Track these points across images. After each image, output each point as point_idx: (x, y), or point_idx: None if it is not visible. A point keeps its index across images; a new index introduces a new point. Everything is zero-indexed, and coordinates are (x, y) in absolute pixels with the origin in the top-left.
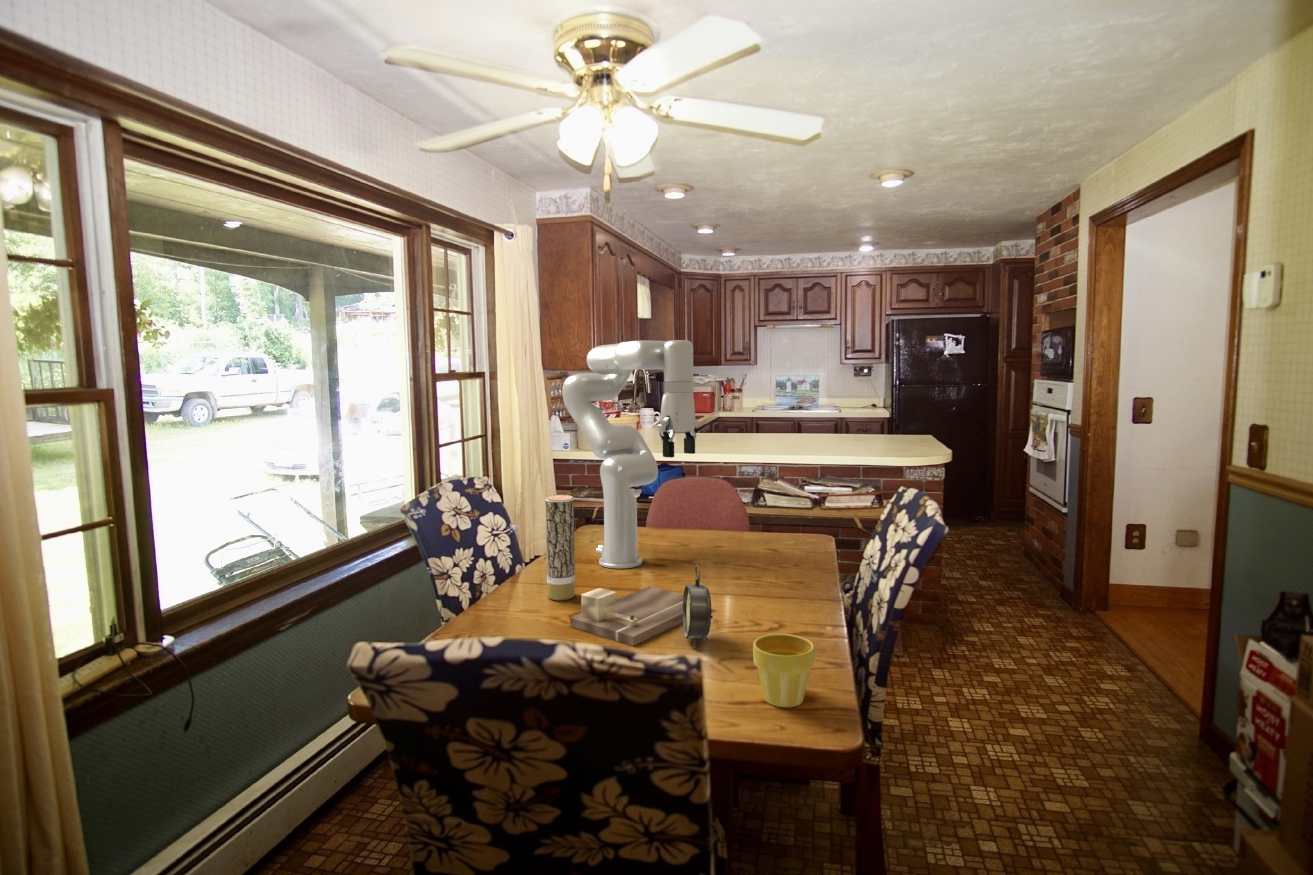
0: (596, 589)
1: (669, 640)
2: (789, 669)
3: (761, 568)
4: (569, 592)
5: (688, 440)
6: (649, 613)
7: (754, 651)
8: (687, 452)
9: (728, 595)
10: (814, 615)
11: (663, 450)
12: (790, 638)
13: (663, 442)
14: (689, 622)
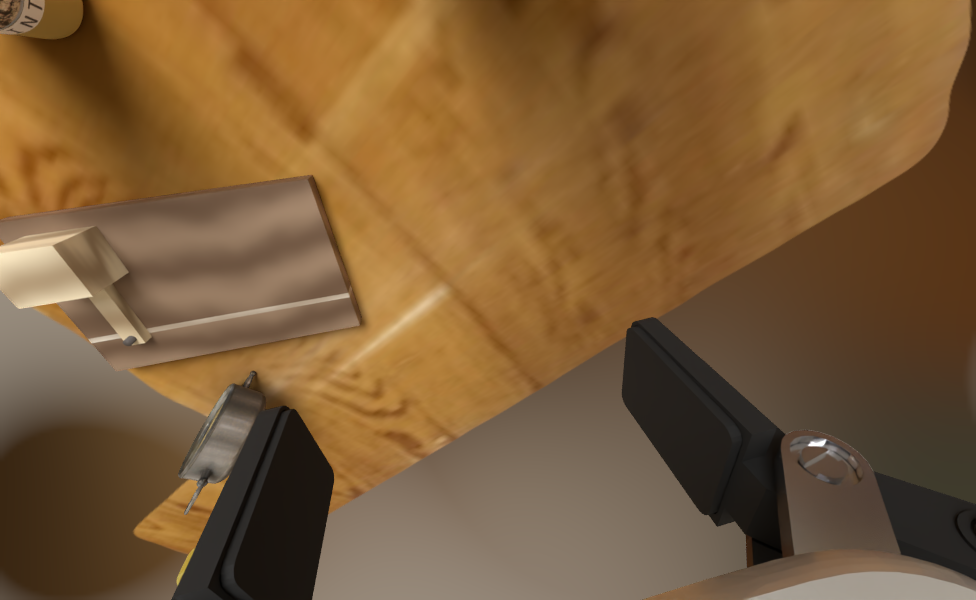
0: (36, 251)
1: (205, 372)
2: None
3: (633, 220)
4: (36, 37)
5: (705, 464)
6: (206, 309)
7: (180, 570)
8: (628, 357)
9: (445, 289)
10: (466, 410)
11: (240, 470)
12: None
13: (195, 579)
14: (189, 450)
